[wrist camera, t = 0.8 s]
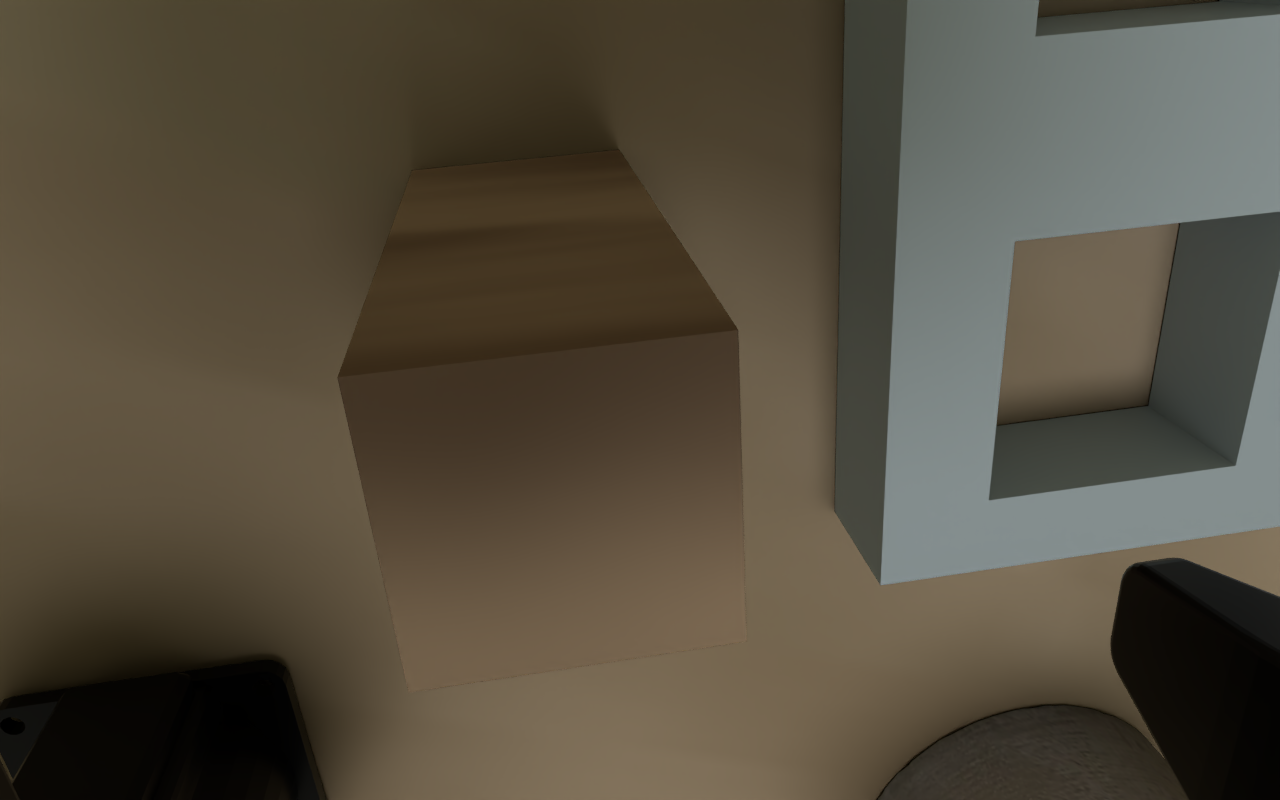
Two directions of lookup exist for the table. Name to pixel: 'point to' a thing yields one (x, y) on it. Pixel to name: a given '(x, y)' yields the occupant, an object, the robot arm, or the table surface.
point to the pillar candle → (1039, 761)
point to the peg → (546, 425)
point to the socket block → (1041, 208)
